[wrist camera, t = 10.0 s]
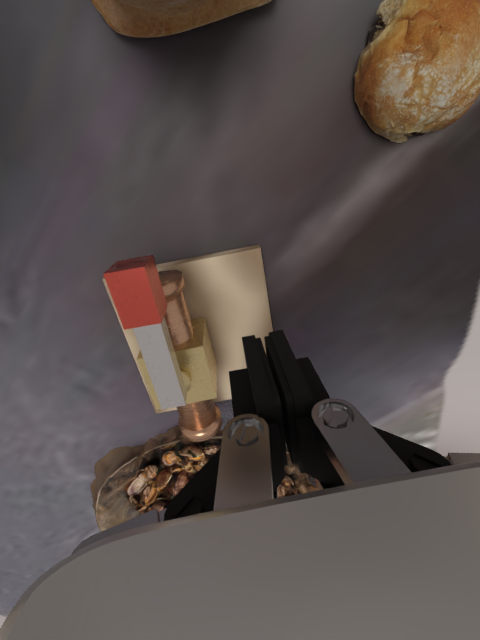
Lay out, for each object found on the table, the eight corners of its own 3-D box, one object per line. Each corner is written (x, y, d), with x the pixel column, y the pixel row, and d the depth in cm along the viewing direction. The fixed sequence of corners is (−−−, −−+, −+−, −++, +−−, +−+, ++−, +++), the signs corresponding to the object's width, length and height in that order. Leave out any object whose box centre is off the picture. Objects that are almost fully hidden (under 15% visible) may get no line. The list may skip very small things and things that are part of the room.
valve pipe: (179, 409, 38) (172, 458, 32) (131, 273, 30) (108, 301, 24) (226, 400, 38) (229, 447, 32) (191, 261, 30) (184, 286, 24)
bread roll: (340, 139, 31) (378, 176, 26) (341, -3, 23) (397, 10, 18) (437, 103, 30) (496, 134, 25) (474, -57, 22) (571, -58, 17)
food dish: (343, 423, 45) (368, 469, 38) (278, 546, 59) (288, 597, 53) (92, 395, 38) (68, 447, 31) (86, 543, 52) (69, 601, 46)
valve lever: (193, 389, 28) (190, 417, 25) (165, 394, 28) (159, 423, 25) (154, 253, 22) (144, 266, 19) (118, 259, 22) (103, 273, 19)
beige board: (158, 405, 40) (156, 413, 38) (106, 274, 32) (102, 278, 30) (279, 382, 39) (281, 389, 38) (258, 244, 31) (260, 247, 30)
